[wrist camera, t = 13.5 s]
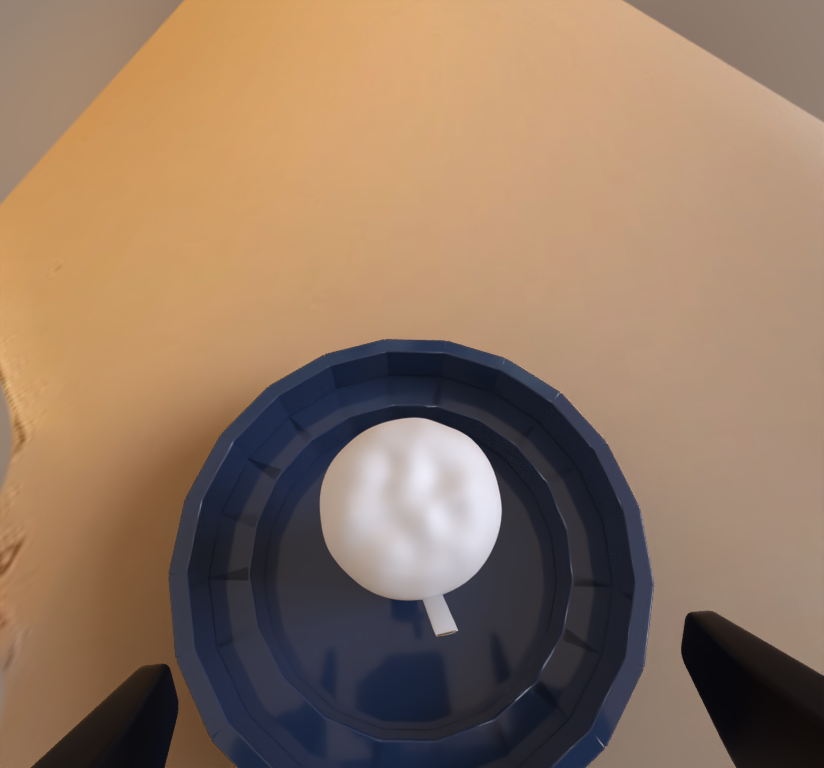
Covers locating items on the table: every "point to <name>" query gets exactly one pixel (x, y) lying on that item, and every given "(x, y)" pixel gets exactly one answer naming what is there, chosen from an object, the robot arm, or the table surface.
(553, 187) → the table surface
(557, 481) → the bowl
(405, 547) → the milkshake
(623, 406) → the table surface
